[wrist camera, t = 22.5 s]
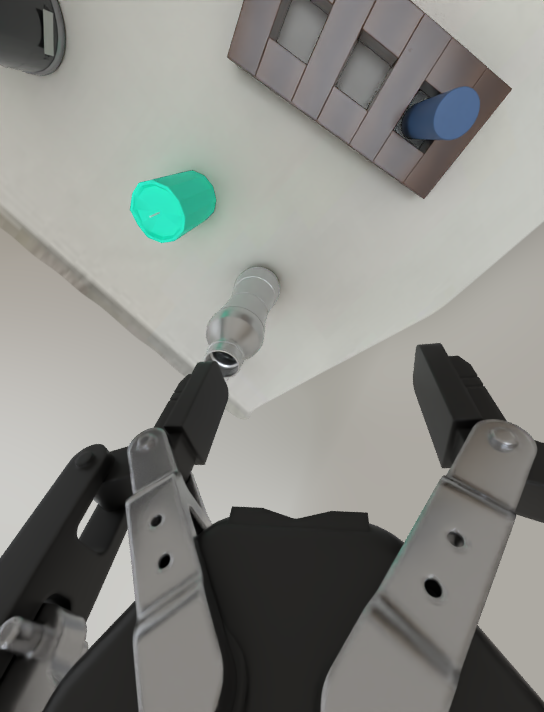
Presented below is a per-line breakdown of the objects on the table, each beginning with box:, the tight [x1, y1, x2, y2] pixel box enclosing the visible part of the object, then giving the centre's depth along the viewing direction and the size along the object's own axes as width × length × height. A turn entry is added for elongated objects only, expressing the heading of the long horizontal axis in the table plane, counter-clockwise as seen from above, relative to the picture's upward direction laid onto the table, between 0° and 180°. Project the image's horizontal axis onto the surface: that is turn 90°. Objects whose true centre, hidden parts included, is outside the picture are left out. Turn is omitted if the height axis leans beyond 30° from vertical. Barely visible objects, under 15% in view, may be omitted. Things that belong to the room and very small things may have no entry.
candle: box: [130, 170, 216, 243], centre depth 33 cm, size 6×6×12 cm
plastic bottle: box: [204, 267, 280, 378], centre depth 36 cm, size 6×7×20 cm
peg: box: [402, 86, 480, 140], centre depth 26 cm, size 3×3×12 cm
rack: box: [227, 0, 512, 199], centre depth 28 cm, size 24×10×4 cm, turn 61°
